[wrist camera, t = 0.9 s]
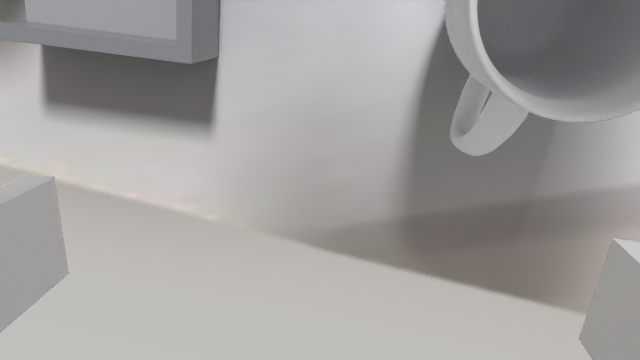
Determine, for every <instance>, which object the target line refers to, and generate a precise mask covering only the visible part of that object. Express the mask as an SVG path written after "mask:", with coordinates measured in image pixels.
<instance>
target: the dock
mask: <svg viewBox="0 0 640 360" xmlns="http://www.w3.org/2000/svg"><path fill="white" fill-rule="evenodd" d="M24 3H25V12H26V21H0V39H1V40H9V41H17V42H25V43H32V44H40V45H48V46H56V47H63V48H71V49H79V50H86V51H94V52H102V53H110V54H117V55H125V56H133V57H141V58H148V59H156V60H164V61H171V62H179V63H187V64H194V63H198V62H201V61H205V60H209V59H213V58H217V57H218V48H219V19H220V0H24Z"/></svg>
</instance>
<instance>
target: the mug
mask: <svg viewBox="0 0 640 360" xmlns="http://www.w3.org/2000/svg"><path fill="white" fill-rule="evenodd" d="M445 2H446V3H445V19H446V27H447V34H448V36H449V39H450V43H451V44H452V46H453V49H454V51H455V53H456V55H457V57H458V58H459V59H460V61H461V62H462V65H463V66H464V67H465V68H466V69H467V70H468V72H469V73H470V75H469V77H468V80H467V82H466V84H465V86H464V88H463V90H462V93H461V96H460V99H459V101H458V104H457V107H456V110H455V113H454V116H453V119H452V123H451V128H450V139H451V142H452V144H453V145H454V146H455V147H456V148H457V149H459V150H460V151H462V152H464V153H466V154H469V155H473V156H481V155H485V154H488V153H490V152H492V151H493V150H494V149H496V148H497V147H499V146H500V145H501V144H502V143H503V142H504V141H506V140H507V139H508V138H509V137H510V136H511V135H512V134H513V133H514V132H515V131H516V130H517V128H518V127H519V126H520V125H521V124H522V122H523V121H524V120H525V119H526V117H527V116H528V114H529V112H530V113H532V114H535V115H538V116H540V117H543V118H547V119H551V120H556V121H564V122H573V123H589V122H598V121H604V120H609V119H613V118H616V117H620V116H624V115H627V114H630V113H632V112H635V111H638V110H640V0H445ZM490 91H491V92H492V94H491V96H490V97H489V99H488V101H487V103H486V105H485V107H484V109H483V106H484V104H485V101H486V99H487V96H488V94H489V92H490ZM482 109H483V111H482Z"/></svg>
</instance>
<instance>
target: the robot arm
mask: <svg viewBox="0 0 640 360" xmlns="http://www.w3.org/2000/svg"><path fill="white" fill-rule="evenodd" d="M68 274H69V273H68V265H67V259H66V252H65V245H64V238H63V232H62V225H61V218H60V212H59V205H58V198H57V191H56V185H55V178H54V177H51V176H42V175H33V174H23V175H21V176H19V177H16V178H14V179H12V180H10V181H8V182H6V183H4V184H2V185H0V333H1V332H2V331H3V330H4V329H5V328H6V327H7V326H9V325H10V324H11V323H12V322H13V321H14V320H16V319H17V318H18V317H19V316H20V315H21V314H22V313H23V312H25V311H26V310H27V309H28V308H29V307H31V306H32V305H33V304H34V303H35V302H36V301H38V300H39V299H40V298H41V297H42V296H43V295H44V294H46V293H47V292H48V291H49V290H50V289H51V288H53V287H54V286H55V285H56V284H57V283H58V282H59V281H61V280H62V279H63V278H64V277H65V276H66V275H68ZM579 339H580V341H581V342H582V344H583V346H584V347H585V349H586V350H587V352H588V353H589V355H590V357H591V358H592V360H640V241H631V240H622V239H613V241H612V244H611V247H610V250H609V252H608V255H607V258H606V261H605V264H604V267H603V270H602V273H601V276H600V279H599V282H598V284H597V287H596V290H595V293H594V296H593V299H592V302H591V305H590V308H589V311H588V314H587V316H586V319H585V323H584V325H583V328H582V331H581V334H580V337H579Z"/></svg>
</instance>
